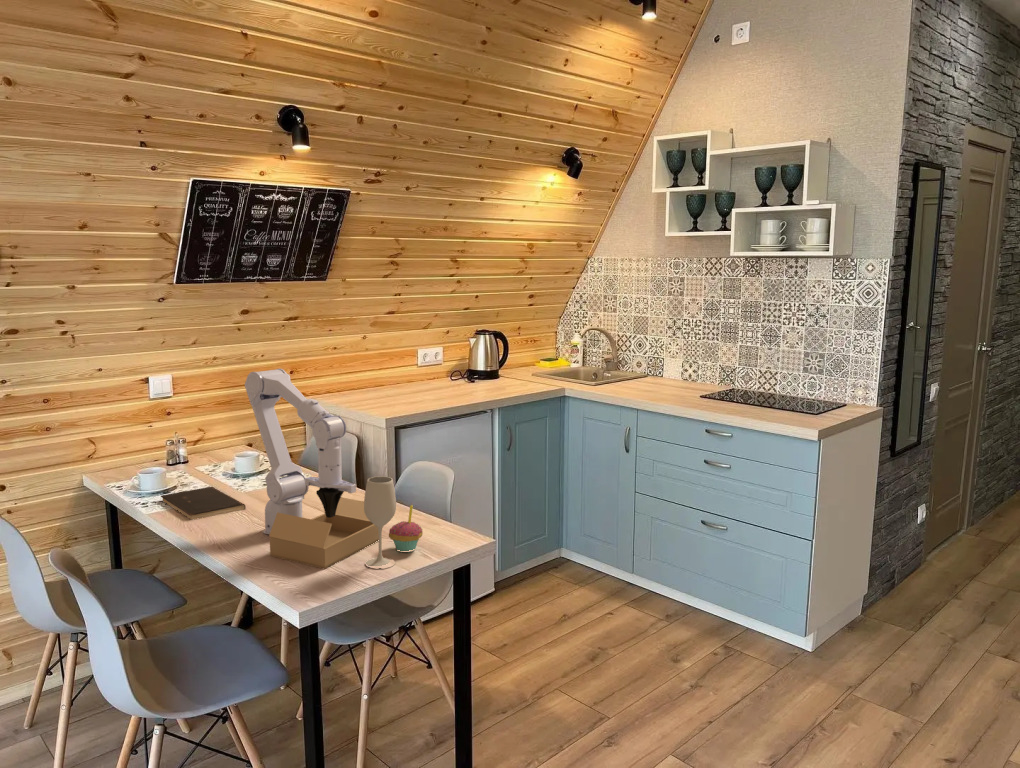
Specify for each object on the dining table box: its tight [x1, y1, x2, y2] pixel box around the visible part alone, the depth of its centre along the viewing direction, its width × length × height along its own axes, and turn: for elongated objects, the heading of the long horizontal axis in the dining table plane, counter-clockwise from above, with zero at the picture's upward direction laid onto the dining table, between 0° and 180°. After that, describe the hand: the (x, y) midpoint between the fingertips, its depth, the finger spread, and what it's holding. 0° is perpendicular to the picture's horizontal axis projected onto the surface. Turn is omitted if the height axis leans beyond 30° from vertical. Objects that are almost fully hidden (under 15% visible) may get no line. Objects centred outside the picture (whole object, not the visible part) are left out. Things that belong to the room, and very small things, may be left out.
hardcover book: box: [160, 486, 246, 521], centre depth 230 cm, size 16×23×2 cm
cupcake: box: [388, 503, 424, 551], centre depth 197 cm, size 9×8×12 cm
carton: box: [269, 513, 379, 570], centre depth 198 cm, size 17×22×5 cm
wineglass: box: [363, 475, 397, 566], centre depth 187 cm, size 8×8×21 cm
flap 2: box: [336, 496, 369, 520], centre depth 209 cm, size 17×6×1 cm, turn 64°
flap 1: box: [268, 512, 332, 549], centre depth 188 cm, size 17×6×1 cm
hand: (330, 516), depth 198 cm, fingers closed
